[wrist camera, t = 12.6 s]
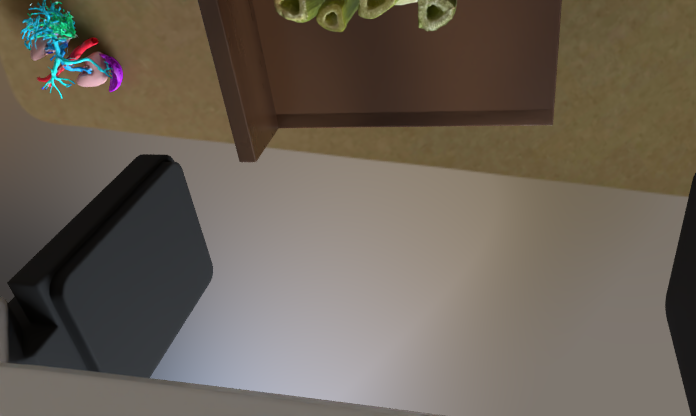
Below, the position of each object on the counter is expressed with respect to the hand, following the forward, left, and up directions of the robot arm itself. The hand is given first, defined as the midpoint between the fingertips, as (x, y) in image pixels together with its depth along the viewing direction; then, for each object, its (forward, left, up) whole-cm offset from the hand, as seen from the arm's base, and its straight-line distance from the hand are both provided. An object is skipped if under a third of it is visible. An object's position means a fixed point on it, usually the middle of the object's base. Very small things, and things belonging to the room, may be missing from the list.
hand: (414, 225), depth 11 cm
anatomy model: (+31, +7, -32) cm, 45 cm away
